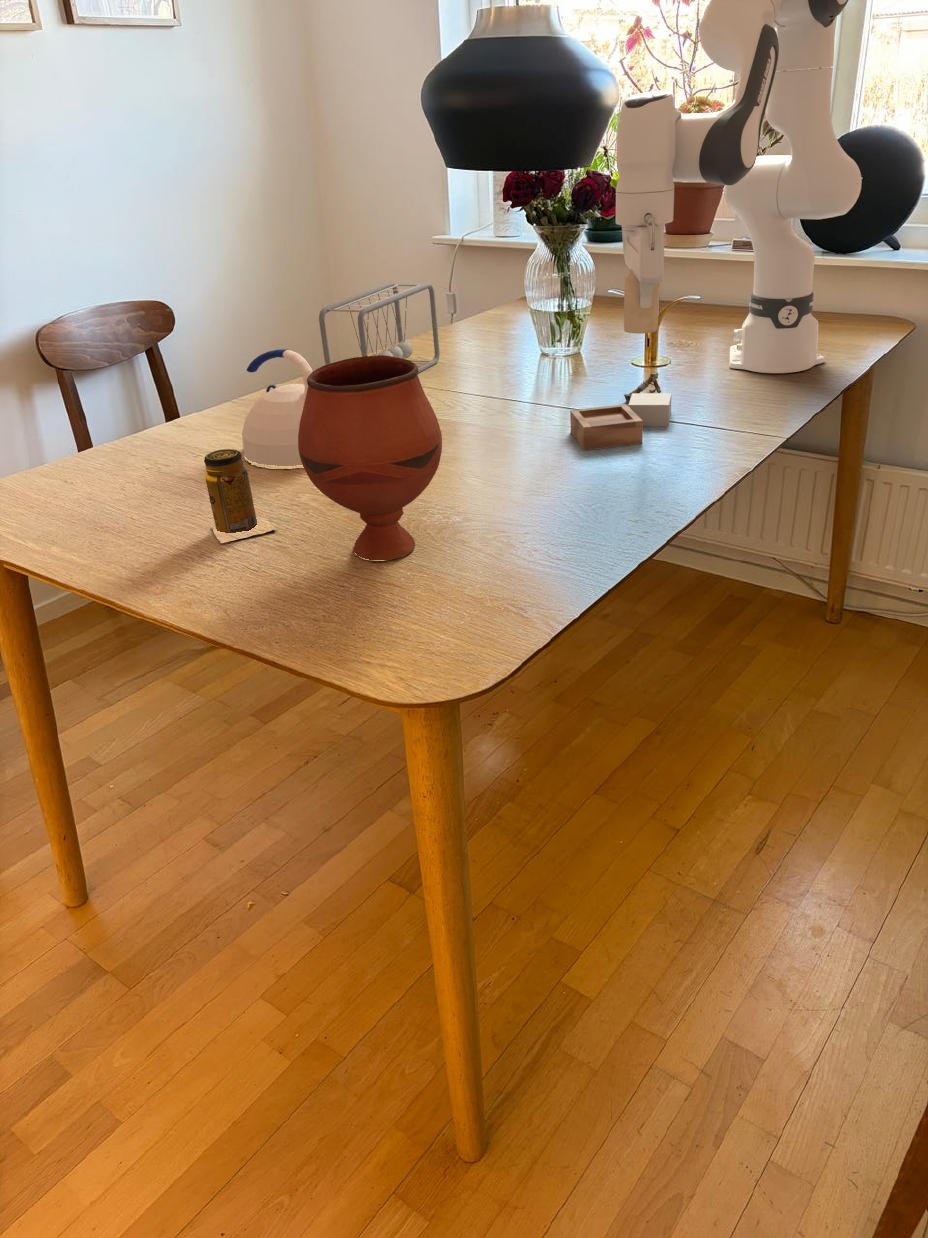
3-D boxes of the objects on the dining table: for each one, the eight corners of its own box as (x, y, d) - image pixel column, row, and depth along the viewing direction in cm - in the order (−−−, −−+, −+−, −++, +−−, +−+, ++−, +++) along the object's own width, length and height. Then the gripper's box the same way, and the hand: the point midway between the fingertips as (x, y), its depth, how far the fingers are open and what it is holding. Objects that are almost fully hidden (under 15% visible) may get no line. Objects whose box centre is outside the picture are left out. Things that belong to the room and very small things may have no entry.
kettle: (301, 478, 163) (283, 370, 155) (219, 459, 175) (198, 358, 166) (381, 441, 177) (369, 340, 168) (300, 426, 189) (285, 331, 180)
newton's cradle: (402, 359, 228) (393, 279, 220) (441, 361, 224) (434, 280, 215) (328, 396, 205) (316, 309, 197) (370, 399, 201) (359, 310, 192)
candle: (657, 333, 158) (659, 268, 153) (622, 334, 159) (624, 269, 154) (658, 326, 162) (660, 262, 158) (624, 326, 163) (625, 263, 159)
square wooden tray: (570, 432, 173) (570, 410, 172) (625, 425, 174) (626, 403, 172) (584, 450, 165) (583, 427, 163) (642, 443, 166) (642, 420, 164)
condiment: (210, 528, 147) (194, 451, 141) (266, 515, 150) (252, 440, 144) (220, 545, 141) (203, 466, 135) (277, 532, 144) (263, 454, 138)
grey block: (632, 414, 180) (632, 393, 179) (670, 414, 179) (671, 393, 177) (628, 426, 175) (628, 404, 173) (668, 427, 173) (668, 404, 171)
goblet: (382, 511, 148) (362, 344, 136) (481, 538, 137) (468, 358, 125) (286, 558, 136) (254, 379, 124) (385, 592, 124) (361, 399, 112)
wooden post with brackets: (666, 389, 189) (659, 370, 186) (636, 414, 187) (629, 395, 184) (660, 388, 190) (653, 368, 187) (630, 412, 189) (623, 393, 186)
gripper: (676, 216, 143) (672, 314, 149) (655, 202, 161) (653, 290, 167) (632, 219, 143) (630, 316, 149) (616, 205, 161) (615, 292, 167)
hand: (642, 302), depth 158 cm, fingers closed on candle, 5 cm apart
